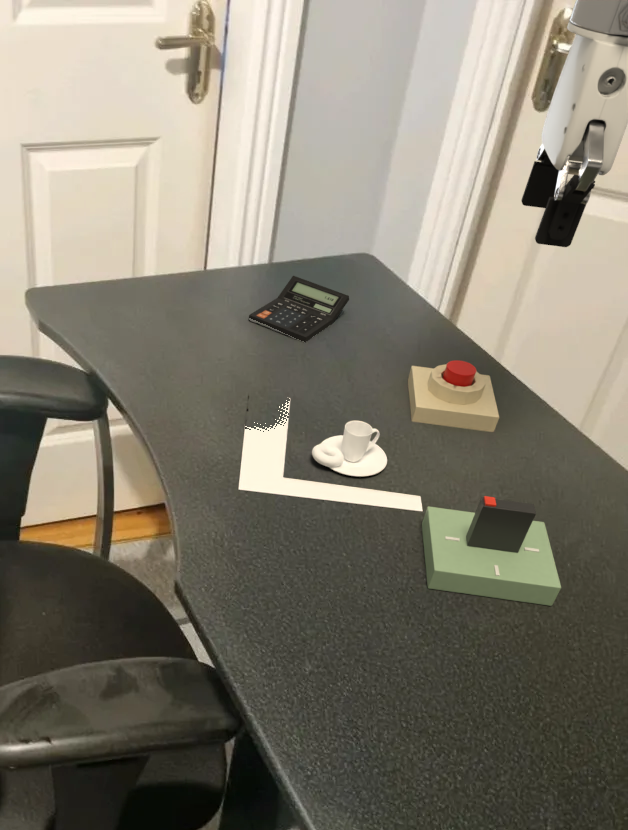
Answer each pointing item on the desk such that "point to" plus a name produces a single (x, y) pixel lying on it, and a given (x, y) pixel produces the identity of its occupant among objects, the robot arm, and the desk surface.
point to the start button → (459, 373)
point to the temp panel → (487, 561)
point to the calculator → (302, 309)
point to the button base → (451, 400)
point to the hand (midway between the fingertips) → (543, 224)
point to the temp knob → (500, 524)
